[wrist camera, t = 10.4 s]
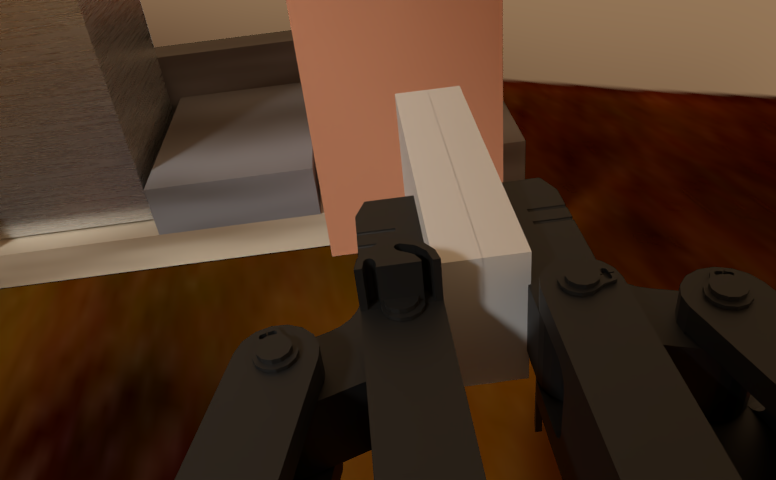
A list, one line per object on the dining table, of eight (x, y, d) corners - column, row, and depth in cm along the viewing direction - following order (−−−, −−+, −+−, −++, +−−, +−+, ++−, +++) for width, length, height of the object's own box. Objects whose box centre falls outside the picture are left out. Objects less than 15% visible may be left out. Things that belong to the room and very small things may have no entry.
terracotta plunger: (503, 233, 24) (502, -36, 19) (332, 256, 24) (284, -9, 19) (467, 143, 30) (458, -83, 25) (329, 161, 30) (291, -63, 25)
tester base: (524, 220, 28) (526, 89, 24) (-31, 292, 27) (-101, 169, 24) (476, 114, 36) (473, 7, 33) (49, 169, 35) (5, 66, 32)
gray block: (153, 219, 27) (70, -16, 22) (0, 238, 27) (-118, 8, 22) (181, 139, 33) (121, -62, 28) (55, 155, 33) (-29, -43, 28)
